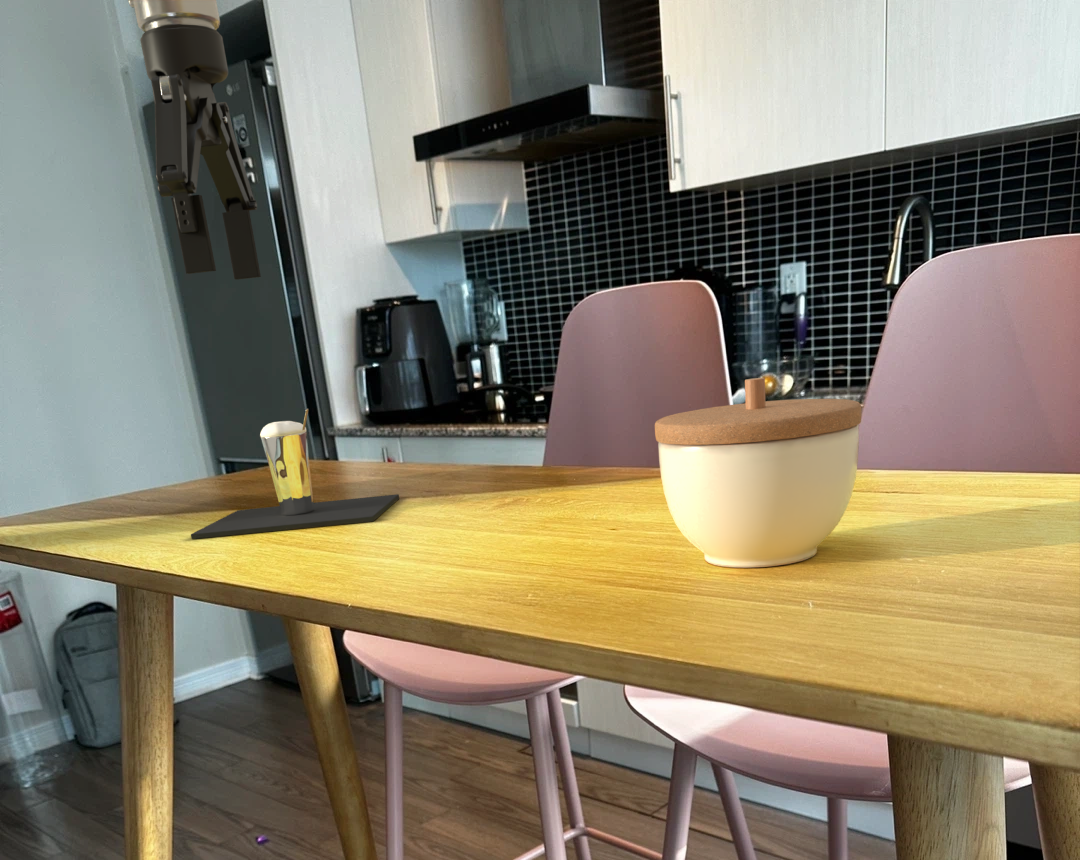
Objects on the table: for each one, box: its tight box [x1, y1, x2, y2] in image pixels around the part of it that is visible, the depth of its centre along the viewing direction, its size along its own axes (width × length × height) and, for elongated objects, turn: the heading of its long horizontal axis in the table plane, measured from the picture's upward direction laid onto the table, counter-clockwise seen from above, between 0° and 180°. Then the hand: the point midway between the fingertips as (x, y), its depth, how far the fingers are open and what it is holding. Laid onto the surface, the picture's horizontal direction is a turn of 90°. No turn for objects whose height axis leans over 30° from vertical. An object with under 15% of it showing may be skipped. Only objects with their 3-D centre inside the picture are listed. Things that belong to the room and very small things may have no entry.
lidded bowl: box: [654, 377, 863, 569], centre depth 65 cm, size 13×13×11 cm
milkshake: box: [259, 408, 315, 515], centre depth 103 cm, size 4×5×10 cm
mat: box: [190, 493, 400, 540], centre depth 105 cm, size 18×14×1 cm
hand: (225, 275), depth 105 cm, fingers open, 13 cm apart
